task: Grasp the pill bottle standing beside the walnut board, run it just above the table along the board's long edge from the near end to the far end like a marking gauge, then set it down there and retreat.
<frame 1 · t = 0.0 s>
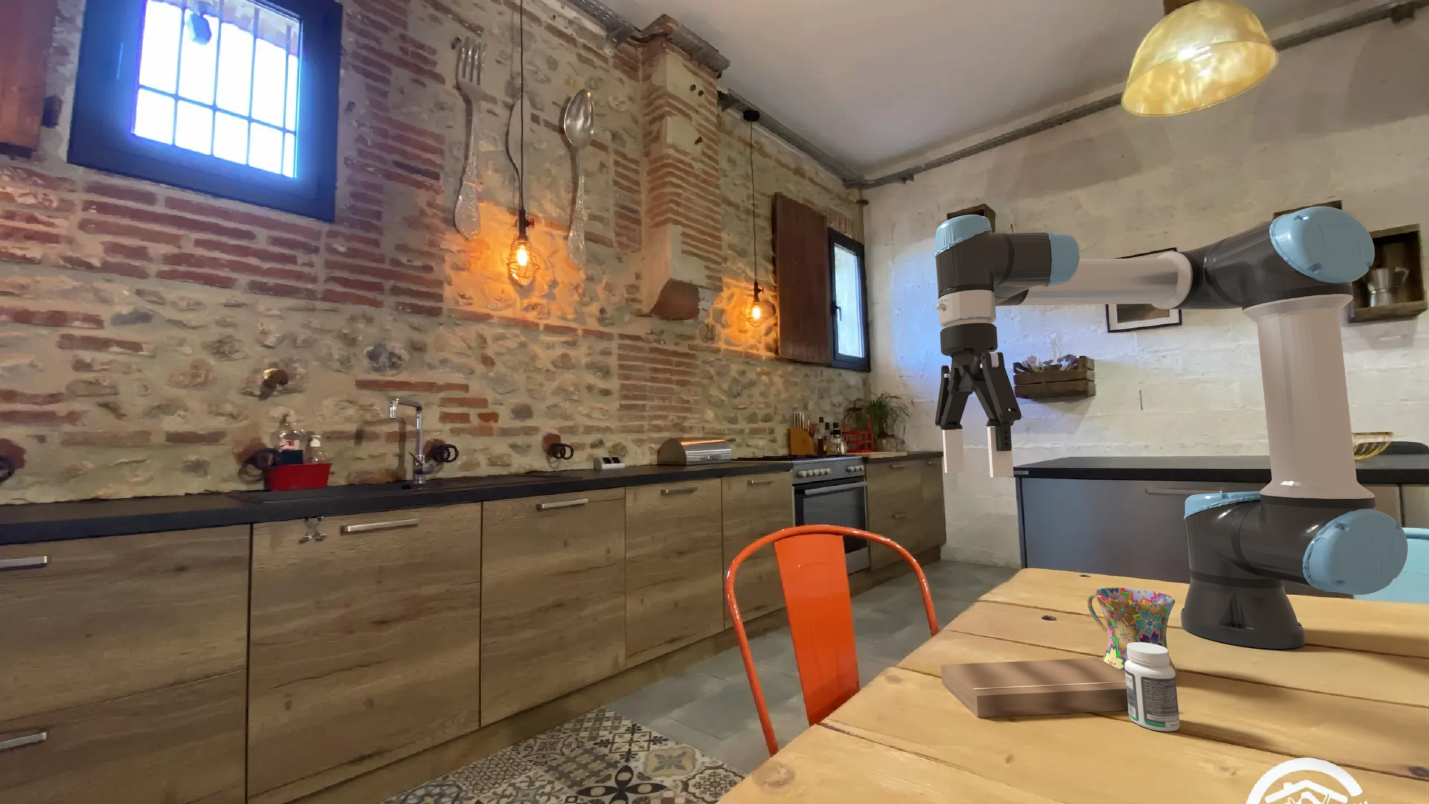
hand: (976, 474, 83), 28 cm above the table, fingers open, 13 cm apart
pill bottle: (1153, 724, 68), on the table
mug: (1130, 670, 83), on the table
board: (1042, 695, 76), on the table
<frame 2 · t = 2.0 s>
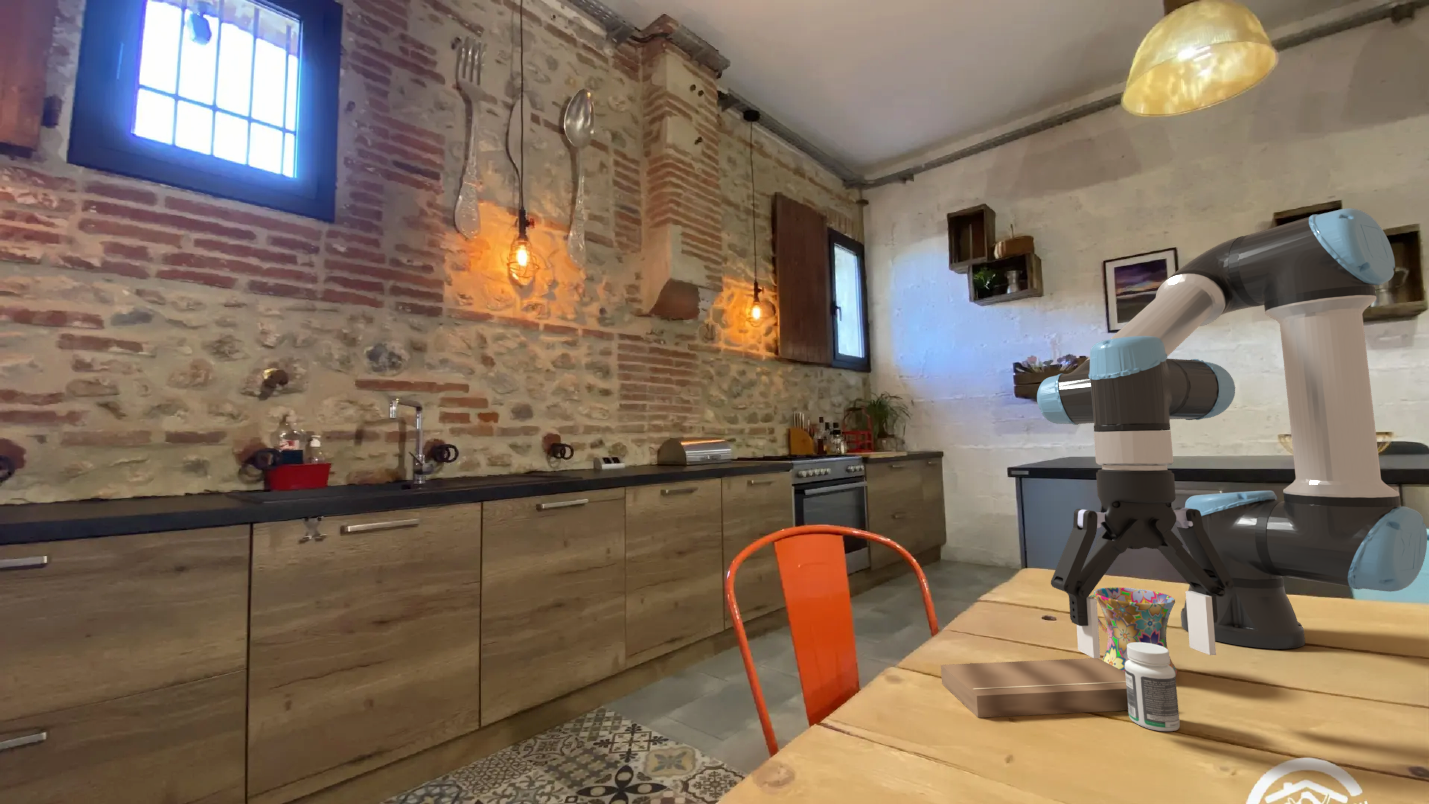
hand: (1146, 653, 68), 8 cm above the table, fingers open, 13 cm apart
nothing on the table moved.
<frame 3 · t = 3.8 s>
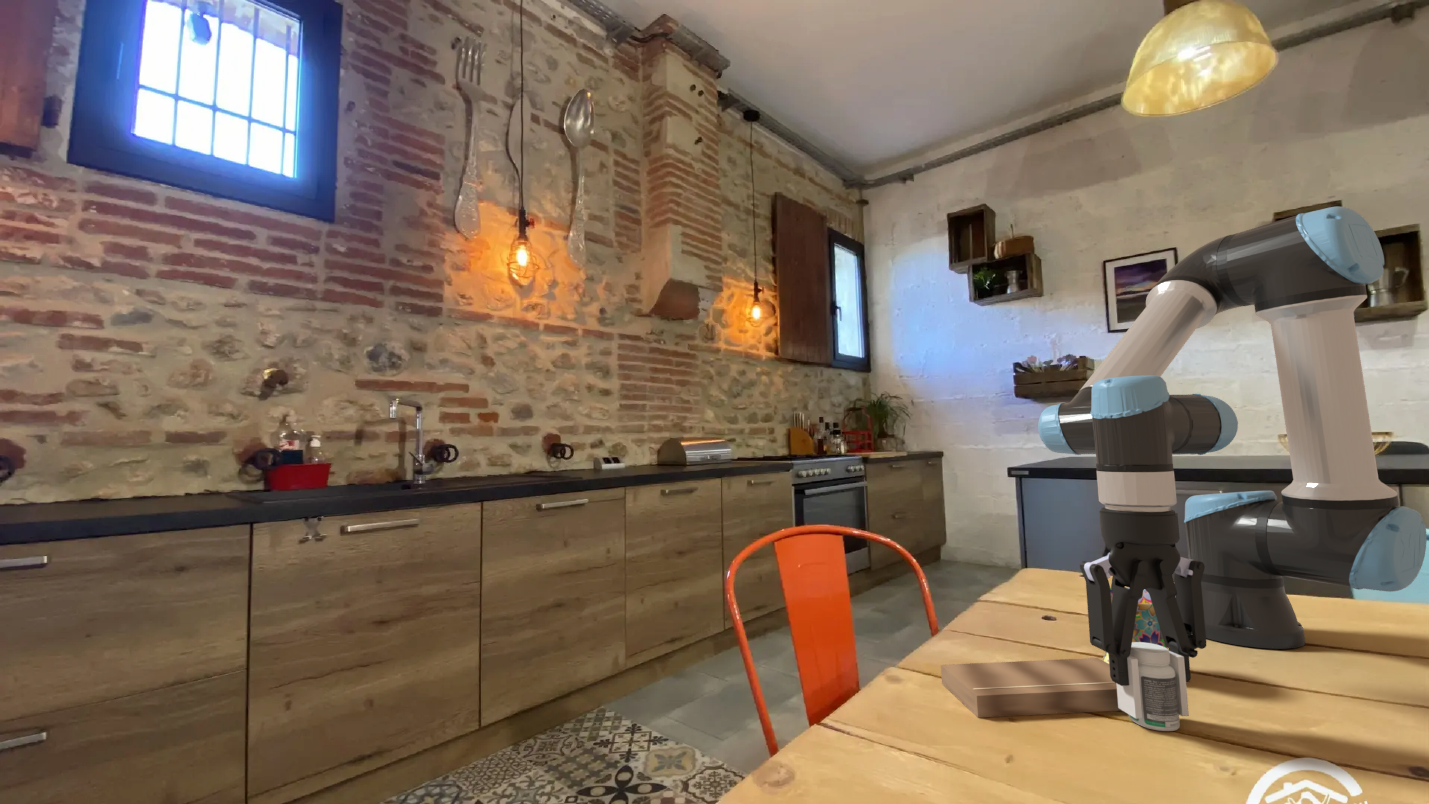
hand: (1152, 711, 68), 1 cm above the table, fingers closed on pill bottle, 5 cm apart
pill bottle: (1153, 724, 68), on the table, touching gripper
everything else where it was.
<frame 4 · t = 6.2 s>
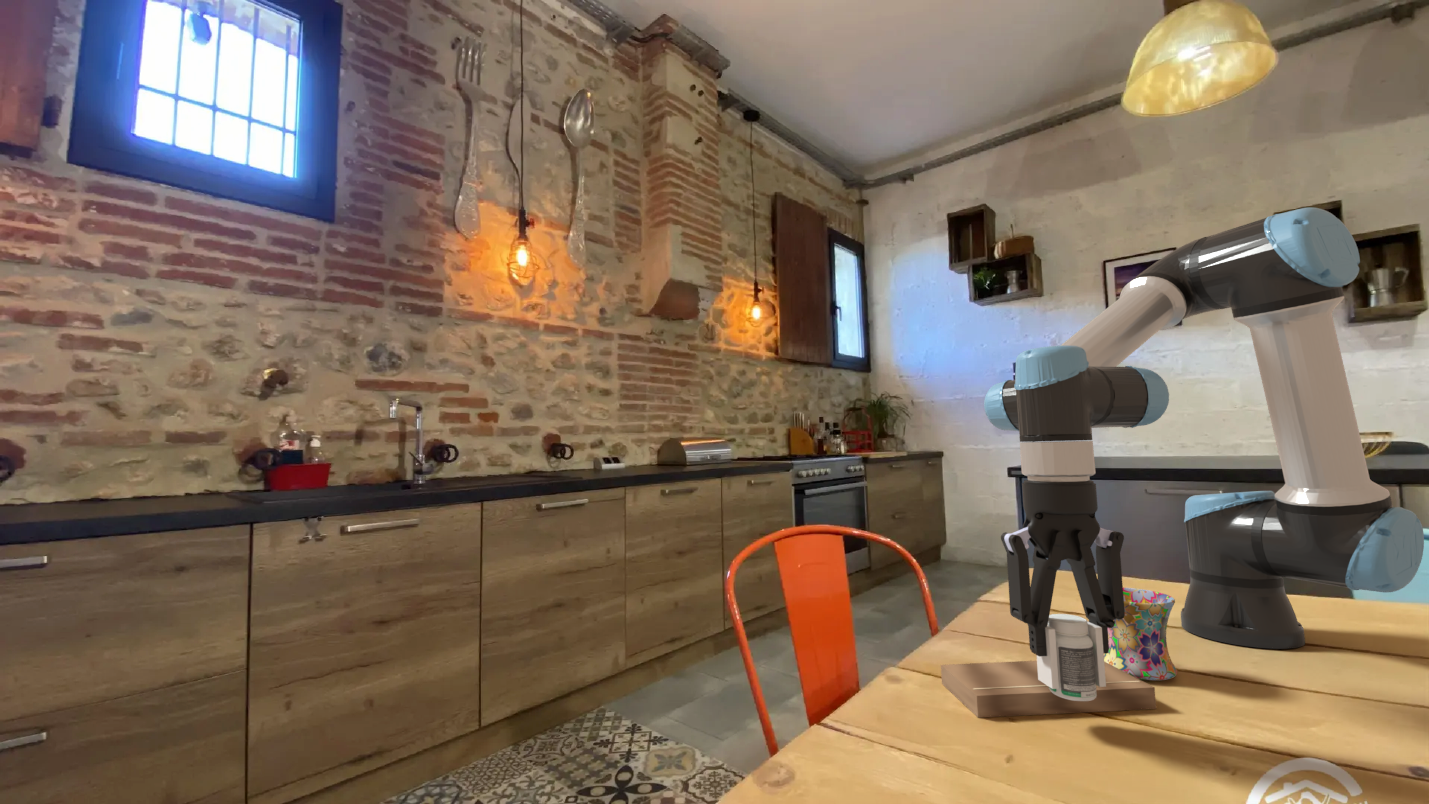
hand: (1071, 682, 67), 5 cm above the table, fingers closed on pill bottle, 5 cm apart
pill bottle: (1072, 695, 67), point 3 cm above the table, touching gripper
everything else where it was.
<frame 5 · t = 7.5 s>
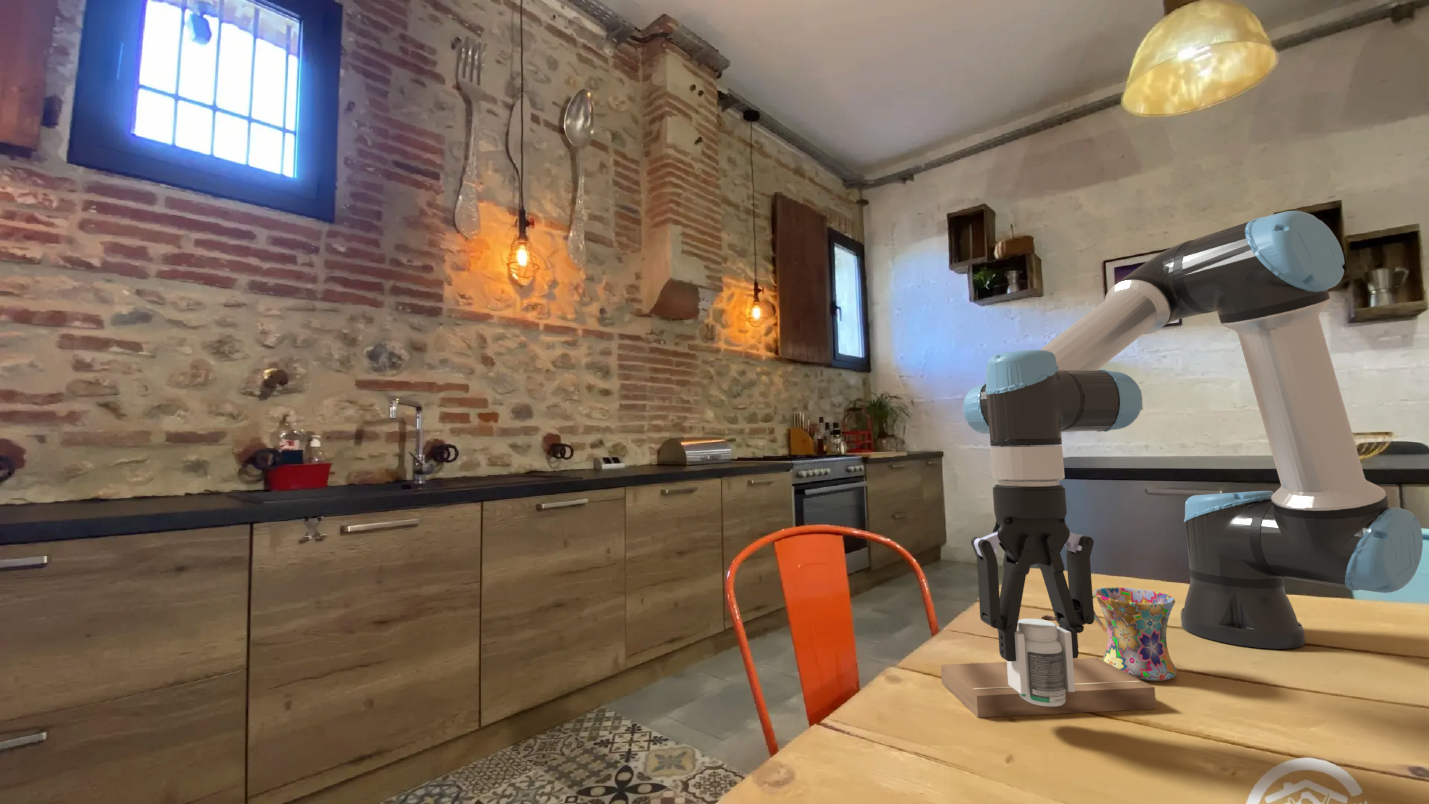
hand: (1041, 687, 67), 4 cm above the table, fingers closed on pill bottle, 5 cm apart
pill bottle: (1041, 700, 67), point 3 cm above the table, touching gripper
everything else where it was.
when the fingers open (2 cm above the table, at t = 8.7 s): pill bottle stays where it is, on the table.
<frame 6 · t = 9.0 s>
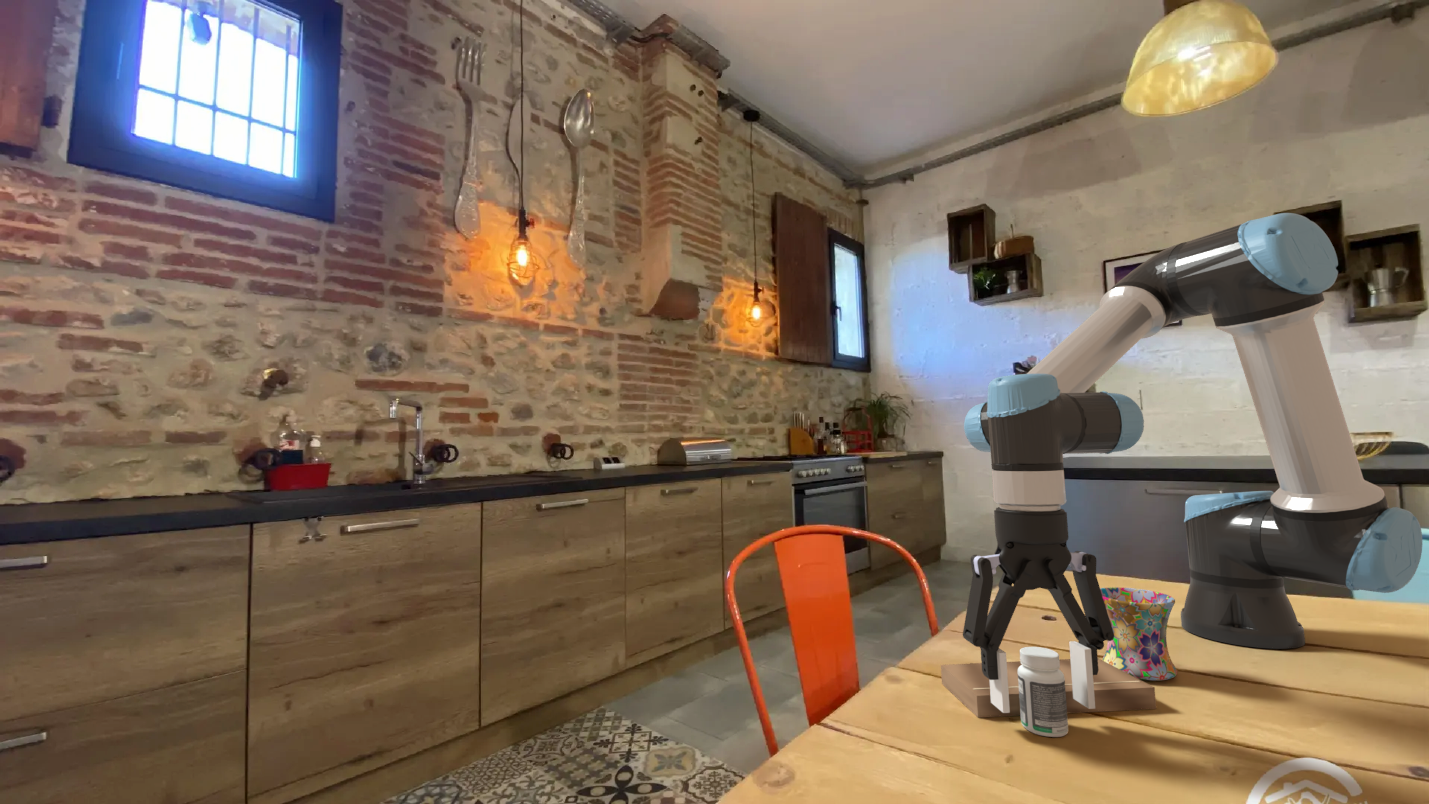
hand: (1042, 705, 67), 3 cm above the table, fingers open, 9 cm apart
pill bottle: (1044, 730, 67), on the table
everything else where it was.
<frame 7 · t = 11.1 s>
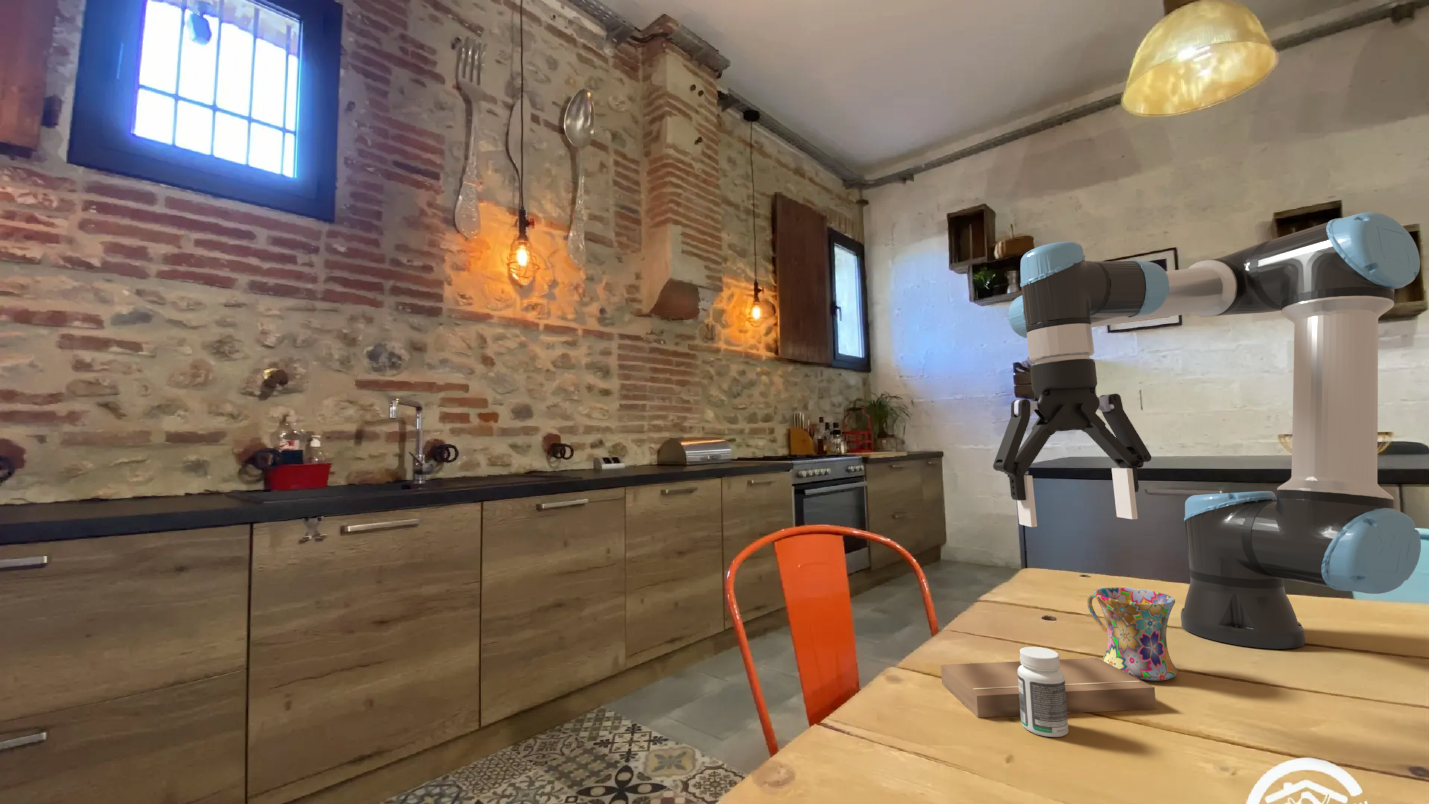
hand: (1077, 522, 77), 22 cm above the table, fingers open, 13 cm apart
nothing on the table moved.
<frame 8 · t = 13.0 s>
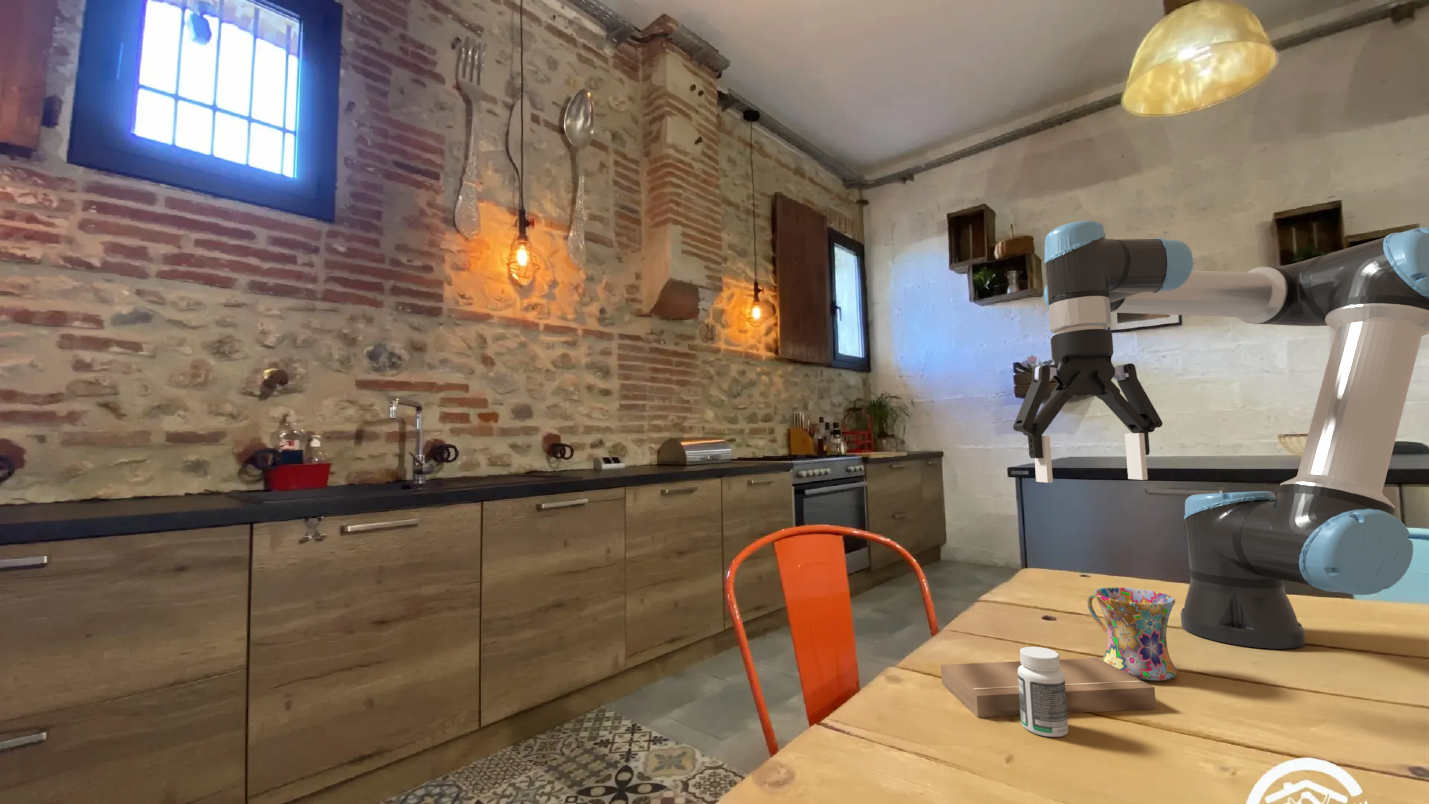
hand: (1091, 481, 83), 27 cm above the table, fingers open, 13 cm apart
nothing on the table moved.
at the end: pill bottle inside the target area (0.8 cm from its centre), on the table; pill bottle tilted 0°; the gripper is holding nothing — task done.
